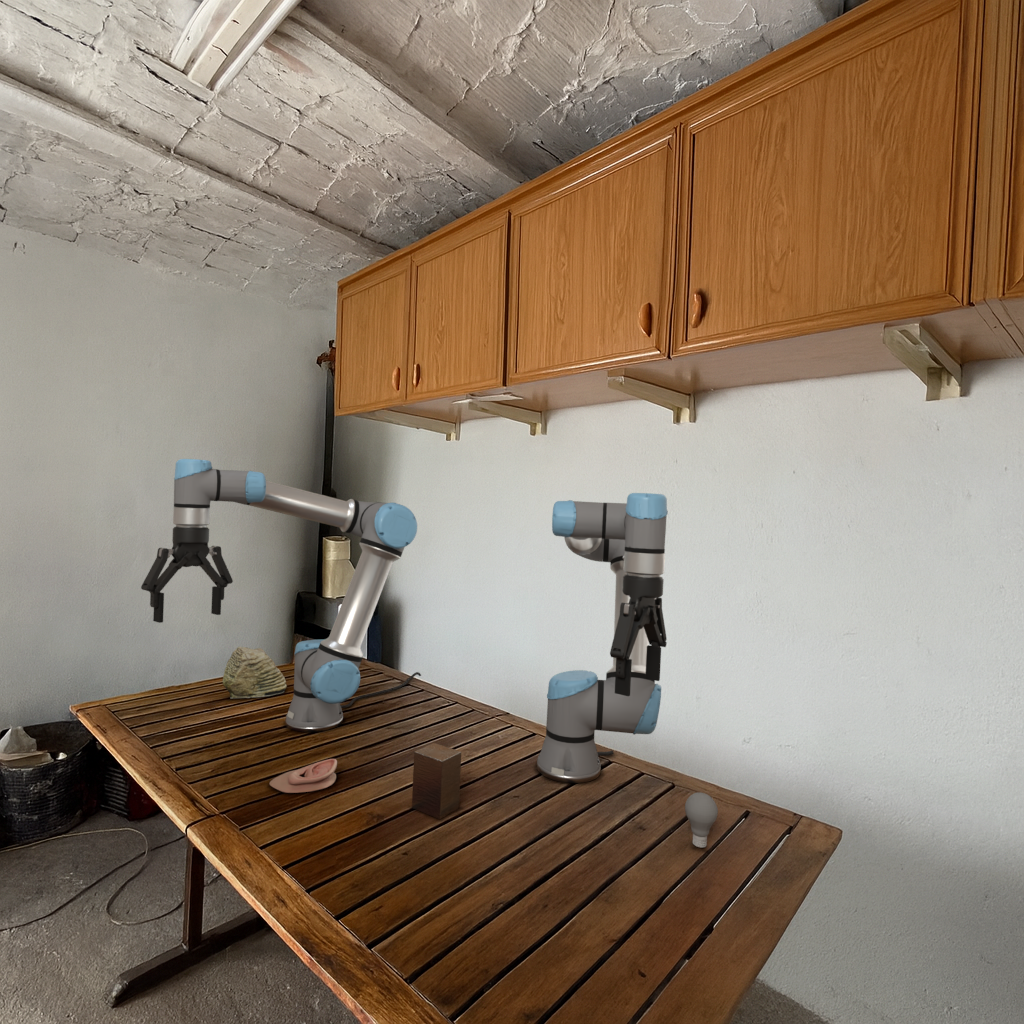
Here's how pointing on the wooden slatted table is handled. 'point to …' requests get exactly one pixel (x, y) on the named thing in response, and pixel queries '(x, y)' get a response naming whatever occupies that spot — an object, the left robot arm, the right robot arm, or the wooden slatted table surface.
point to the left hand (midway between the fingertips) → (188, 617)
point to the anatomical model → (307, 778)
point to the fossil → (252, 674)
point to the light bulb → (701, 816)
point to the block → (436, 780)
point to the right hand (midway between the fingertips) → (638, 686)
